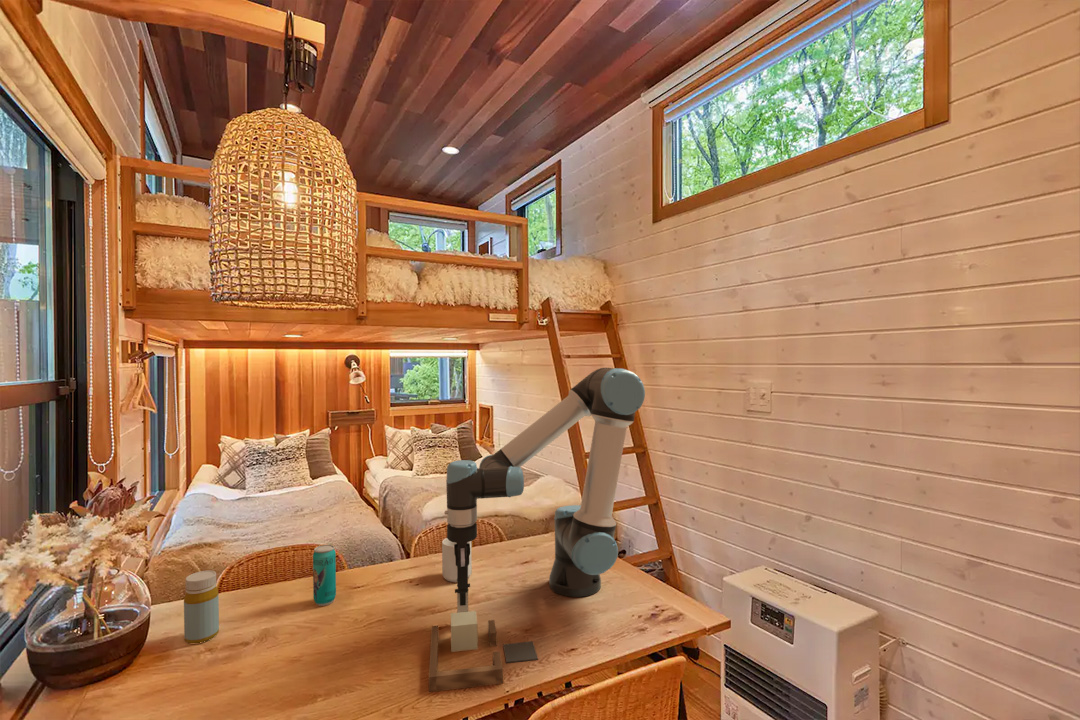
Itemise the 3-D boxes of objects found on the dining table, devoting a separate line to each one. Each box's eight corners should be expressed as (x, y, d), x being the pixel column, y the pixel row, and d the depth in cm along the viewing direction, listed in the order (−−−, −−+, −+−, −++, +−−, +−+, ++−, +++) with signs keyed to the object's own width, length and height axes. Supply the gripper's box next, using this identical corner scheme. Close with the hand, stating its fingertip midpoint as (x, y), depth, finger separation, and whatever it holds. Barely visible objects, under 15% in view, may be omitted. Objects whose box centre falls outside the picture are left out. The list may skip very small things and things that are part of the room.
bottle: (225, 632, 127) (224, 571, 127) (198, 647, 121) (197, 583, 121) (205, 627, 130) (204, 568, 130) (177, 642, 123) (176, 579, 123)
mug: (472, 582, 155) (471, 545, 154) (442, 584, 153) (441, 547, 153) (470, 565, 166) (470, 531, 166) (442, 567, 165) (442, 533, 165)
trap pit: (532, 642, 122) (532, 641, 122) (537, 659, 115) (537, 658, 115) (503, 645, 121) (503, 644, 121) (506, 663, 114) (506, 661, 114)
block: (476, 635, 125) (475, 610, 125) (477, 649, 120) (477, 623, 119) (451, 638, 124) (450, 613, 124) (451, 652, 118) (450, 626, 118)
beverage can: (308, 605, 141) (308, 550, 141) (324, 595, 146) (324, 543, 146) (325, 608, 139) (324, 553, 139) (340, 599, 144) (340, 545, 144)
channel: (494, 632, 127) (494, 619, 127) (502, 683, 107) (502, 668, 107) (432, 638, 124) (431, 625, 124) (428, 691, 104) (428, 677, 104)
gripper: (447, 515, 137) (447, 604, 137) (446, 532, 124) (447, 630, 124) (475, 514, 138) (476, 602, 138) (478, 530, 125) (479, 627, 125)
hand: (462, 615), depth 131 cm, fingers closed
